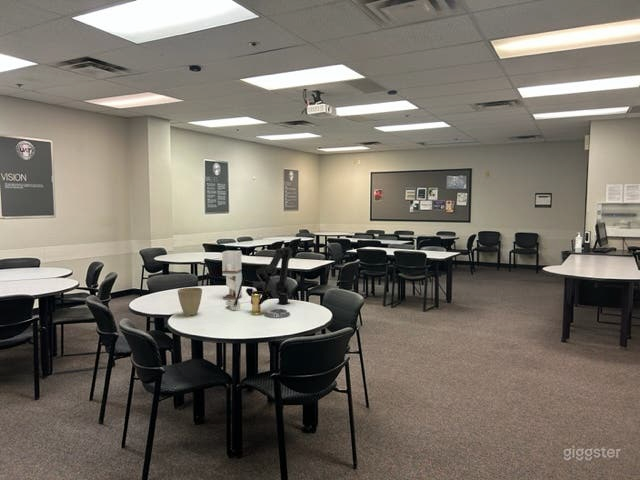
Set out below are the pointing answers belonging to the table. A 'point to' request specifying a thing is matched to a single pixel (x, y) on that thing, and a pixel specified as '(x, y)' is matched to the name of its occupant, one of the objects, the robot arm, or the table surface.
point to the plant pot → (190, 300)
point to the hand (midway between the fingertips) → (255, 304)
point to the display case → (232, 273)
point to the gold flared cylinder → (256, 304)
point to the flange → (276, 313)
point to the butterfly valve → (235, 301)
